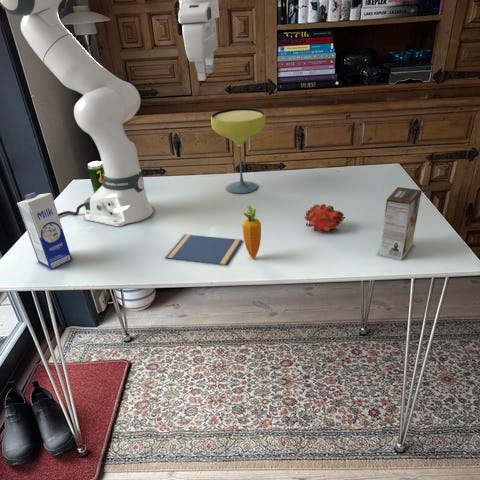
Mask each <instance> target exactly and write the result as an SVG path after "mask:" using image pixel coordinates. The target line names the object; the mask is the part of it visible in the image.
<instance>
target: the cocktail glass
mask: <svg viewBox="0 0 480 480" xmlns="http://www.w3.org/2000/svg"><path fill="white" fill-rule="evenodd" d="M266 119H267V118H266V113H265V111H264V110H262V109H259V108H254V107H253V108H252V107H235V108H227V109H222V110H219V111H216V112H214V113H213V114H212V115H211V116H210V123H211V128H212V130H213V131H214V132H215V133H216V134H217V135H219V136H221V137H224V138H226V139H228V140H231V141H232V142H233V143H234V144H235V145H236V146H237V147H238V154H239V157H238V158H239V171H240V172H239V181H236V182H232V183H230V184H229V185H227V187H226V189H227V191H228V192H230V193H232V194H238V195H241V194H242V195H243V194H249V193H252V192H254V191H256V190H257V188H258V185H257V184H256V183H255V182H252V181H244V176H243V163H242V146H243V145H244V144H245V143H246V142H247V140H248V139H250V138H251V137H253V136H255V135H257V134H259V133H260V132H261V131H262V130H263V129H264V128H265V126H266V122H267V120H266Z"/></svg>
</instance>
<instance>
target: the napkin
mask: <svg viewBox="0 0 480 480" xmlns="http://www.w3.org/2000/svg"><path fill="white" fill-rule="evenodd" d="M242 242H243V241H242V239H235V238H227V237H226V238H224V237H216V236H215V237H214V236H203V235H194V234H184V235H183V236H182V238H181V239H179V241H178V242H177V243H176V244H175V246H174V247H173V248H172V249H171V250H170V252H169V253H168V254H167V255H166V256H165V259H167V260H176V261H187V262H195V263H203V264H214V265H222V266H228V265H229V263H230V261H231V259H232V257H233V256H234V254H235V253H236V251H237V249H238V248H239V247H240V245H241V243H242Z"/></svg>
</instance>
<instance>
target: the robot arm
mask: <svg viewBox="0 0 480 480" xmlns="http://www.w3.org/2000/svg"><path fill="white" fill-rule="evenodd" d="M68 1H69V0H0V7H2V9H3V10H5V12H7V13H8V14H10V15H12V16H17V17H22V18H21V20H20V32H21V33H22V35H23V37H24V39H25V40H26V42H27V44H28V46H30V47H31V49H32V50H33V52H34V53H35V54H36V56H37V57H38V58H39V59H40V60H41V61H42V63H43V64H44V65H45V66H46V67H47V69H48V70H49V71H50V72H52V74H53V75H54V76H55V77H56V79H58V81H60V83H61V84H62V85H63V86H64V87H66V88H67V89H69V90H72V91H75V92H77V93H79V94H81V95H82V96H81V97H80V98H79V99H78V101H77V102H76V103H75V104H74V107H73V116H74V120H75V122H76V123H77V125H78V127H79V128H80V129H81V130H82V131H84V133H87V134H88V135H89V136H90V137H91V138H92V140H93V143H94V144H95V146H96V148H97V151H98V153H99V156H100V160H101V162H102V164H103V168H104V174H103V175H102V176H101V177H100V178H98V179H100V180H99V182H100V181H101V180H103V183H102V186H101V187H100V188H99V189H98V190H97V191H96V192H95V193H94V192H93V194H92V195H91V196H90V197H86V199H85V201H84V202H83V203H81V204H79V205H77V207H76V211H71V210H65V211H62V212H58V216H59V217H61V216H64V215H73V216H77V215H78V214H79V213H80V210H81V208H83V207H84V208H85V211H86V212H85V214H84V219H85V220H87V221H91V222H96V223H100V224H105V225H109V226H114V227H122V226H124V225H128V224H132V223H137V222H140V221H143V220H146V219H147V218H149V217H151V215H153V212H154V209H153V208H152V206H151V204H150V201H149V199H148V196H147V193H146V189H145V179H144V174H143V171H142V169H141V166H140V161H139V156H138V150H137V146H136V144H135V143H134V141H132V140H130V139H129V138H128V136H127V134H126V132H125V129H124V124H125V123H126V122H128V121H129V120H131V119H132V118H133V117H134V116H135V115H136V114H137V112H138V111H139V110H140V107H141V96H140V93H139V91H138V90H137V88H136V86H135V85H133V84H132V83H130V82H128V81H125V80H122V79H121V78H119V77H117V76H116V75H115V74H113V73H112V72H110V70H107V68H105V67H104V66H103V65H101V64H100V63H99V62H98V61H96V60H95V59H94V58H93V57H92V56H91V54H89V52H88V51H87V50H86V49H85V48H84V47H83V46H82V45H81V43H80V42H79V41H78V40H77V39H76V37H74V36H73V34H72V33H71V32H70V31H69V30H68V29H67V28H66V27H65V26H64V24H63V23H62V21H61V19H60V17H59V14H62V13H64V12H65V11H66V8H67V2H68ZM219 5H220V4H219V0H179V10H178V14H177V15H178V22H179V24H180V25H182V26H181V27H182V29H181V30H182V37H183V43H184V49H185V54H186V57H187V59H188V62H190V63H194V67H195V70H196V74H197V79H198V81H200V82H201V81H202V82H203V81H206V80H207V74H212V73H213V72H214V71H215V70H214V69H215V68H214V57H215V55H214V54H215V53H214V52H216V50H218V48H219V40H218V32H217V31H218V30H217V23H216V19H219V18H220V6H219Z"/></svg>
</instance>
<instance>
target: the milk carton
mask: <svg viewBox="0 0 480 480" xmlns="http://www.w3.org/2000/svg"><path fill="white" fill-rule="evenodd" d="M24 198H25V199H24V200H22V201H19V202H17V203H16V204H17V206H18V209H19V212H20V215H21V217H22V221H23V223H24V226H25V229H26V231H27V234H28V237H29V240H30V243H31V246H32V247H33V248H32V249H33V251H34V254H35V257H36V260H37V263H38V264H40V265H42V266H43V267H45V268H47V269H49V270H53V269H55V268H57V267H60V266H62V265H64V264H66V263H68V262H70V261H72V260H73V259H72V255H71V251H70V249H69V245H68V242H67V240H66V239H67V238H66V236H65V232H64V230H63V226H62V223H61V219H60V216H58V214H59V212H58V210H57V207H56V203H55V200H54V196H53V194H52V193H50V192H46V193H41V194H38V195H37V193H36V192H30V193H28V194H25V195H24Z"/></svg>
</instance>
